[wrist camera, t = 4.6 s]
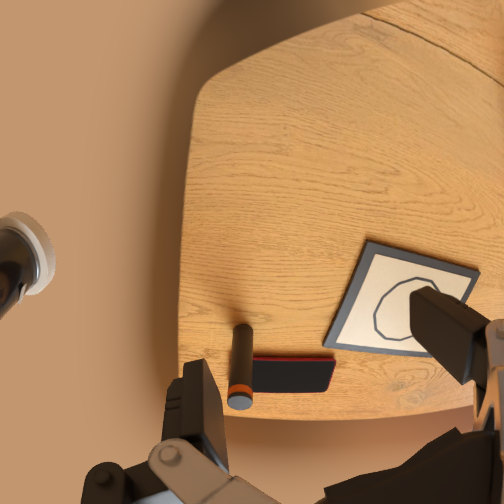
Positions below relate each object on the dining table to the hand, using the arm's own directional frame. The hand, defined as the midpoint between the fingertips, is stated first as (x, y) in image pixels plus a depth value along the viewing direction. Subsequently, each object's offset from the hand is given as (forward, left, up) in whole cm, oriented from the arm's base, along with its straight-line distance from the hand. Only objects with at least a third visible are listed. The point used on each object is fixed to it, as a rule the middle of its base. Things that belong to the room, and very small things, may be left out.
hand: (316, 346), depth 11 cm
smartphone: (+8, -26, -24) cm, 36 cm away
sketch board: (+22, -11, -24) cm, 34 cm away
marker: (+1, -19, -24) cm, 31 cm away
